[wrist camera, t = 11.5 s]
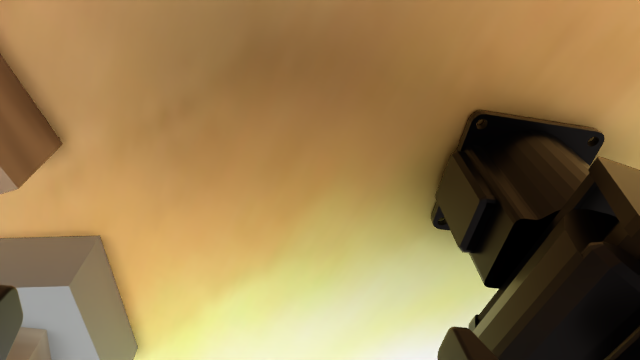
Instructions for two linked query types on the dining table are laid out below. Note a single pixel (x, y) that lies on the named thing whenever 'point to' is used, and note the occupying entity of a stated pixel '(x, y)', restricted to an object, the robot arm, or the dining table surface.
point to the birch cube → (30, 345)
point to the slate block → (69, 296)
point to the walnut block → (21, 133)
